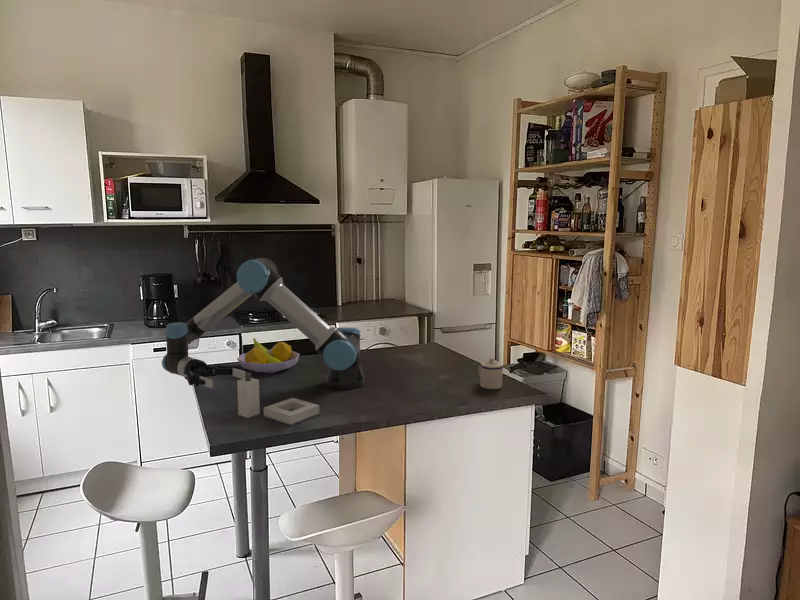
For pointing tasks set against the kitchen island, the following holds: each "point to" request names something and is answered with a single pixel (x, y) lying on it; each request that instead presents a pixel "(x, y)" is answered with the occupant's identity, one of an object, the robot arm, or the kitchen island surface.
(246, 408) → the plug
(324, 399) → the kitchen island surface
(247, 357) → the fruit bowl
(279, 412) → the socket
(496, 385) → the teacup with lid
